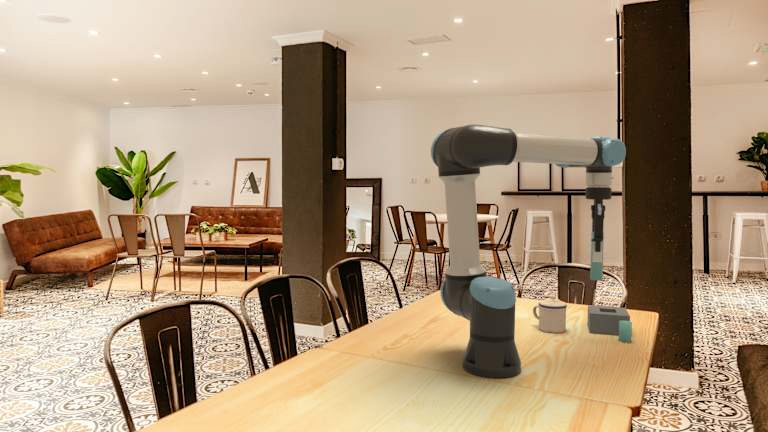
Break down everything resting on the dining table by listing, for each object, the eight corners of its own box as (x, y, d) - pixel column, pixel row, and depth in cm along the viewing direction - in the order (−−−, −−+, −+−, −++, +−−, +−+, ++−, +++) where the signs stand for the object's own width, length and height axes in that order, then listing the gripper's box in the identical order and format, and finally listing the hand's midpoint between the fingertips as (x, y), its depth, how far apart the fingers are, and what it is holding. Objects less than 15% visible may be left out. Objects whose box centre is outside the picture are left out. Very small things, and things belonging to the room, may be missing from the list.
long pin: (603, 280, 165) (604, 233, 164) (590, 280, 166) (591, 232, 165) (602, 278, 168) (603, 232, 167) (589, 278, 169) (591, 231, 168)
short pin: (632, 343, 163) (632, 323, 163) (619, 341, 164) (620, 322, 164) (630, 339, 166) (631, 320, 166) (618, 338, 168) (618, 320, 167)
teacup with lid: (571, 330, 177) (572, 295, 177) (556, 335, 171) (557, 299, 171) (540, 322, 186) (541, 290, 186) (525, 327, 181) (525, 293, 180)
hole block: (629, 336, 170) (630, 316, 170) (589, 332, 174) (590, 313, 174) (624, 326, 182) (625, 307, 181) (587, 323, 185) (587, 305, 185)
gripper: (614, 186, 156) (612, 265, 158) (609, 186, 172) (607, 258, 173) (587, 186, 159) (585, 264, 160) (584, 186, 174) (582, 257, 176)
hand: (596, 261), depth 167 cm, fingers closed on long pin, 3 cm apart
